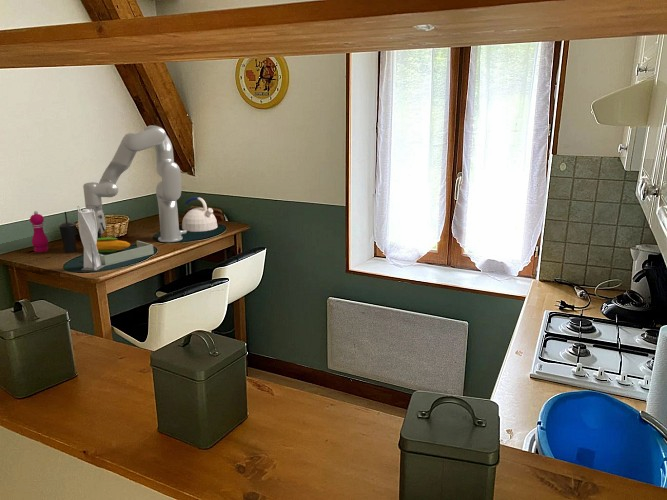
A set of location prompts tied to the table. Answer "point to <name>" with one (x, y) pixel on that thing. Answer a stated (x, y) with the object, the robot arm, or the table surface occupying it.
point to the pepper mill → (38, 233)
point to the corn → (110, 245)
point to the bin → (127, 254)
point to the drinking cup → (68, 236)
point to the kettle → (199, 218)
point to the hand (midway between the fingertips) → (97, 244)
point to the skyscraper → (89, 239)
